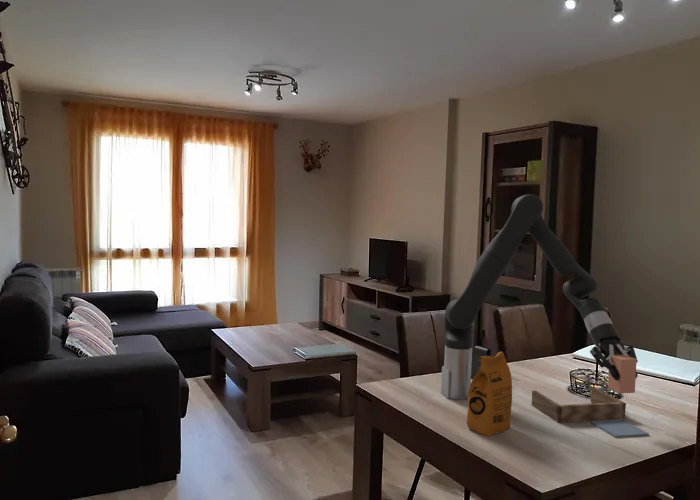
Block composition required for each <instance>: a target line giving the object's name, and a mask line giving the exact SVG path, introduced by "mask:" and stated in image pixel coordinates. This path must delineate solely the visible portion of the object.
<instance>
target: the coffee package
mask: <svg viewBox="0 0 700 500" xmlns="http://www.w3.org/2000/svg"><path fill="white" fill-rule="evenodd" d="M478 360H479V361H481V366H480V367H479V370H478V373H477V375H476V376H475V377H474V378H473V379H471V384H470V387H469V391H468V398H467V410H466V411H467V412H466V422H465V423H466V425H467V427H468V429H469V430H473V431H474V432H476V433H478V434H480V435H483V436H486V437H491V436H493V435H494V434H497V433H499V434H500V433H502V434H503V433H505V431H507V430H508V429H510V428H511V416H512V415H511V414H512V403H513V382H512V380H513V379H512V373H511V371H510V366H509V365H508V362H507V358H506V357H505V354H504V352H503V351H499V352H497V354H496V355H495V356H491V357H486V356H484V357H482V356H480V357H479V358H478Z"/></svg>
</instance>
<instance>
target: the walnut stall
mask: <svg viewBox="0 0 700 500" xmlns="http://www.w3.org/2000/svg"><path fill="white" fill-rule="evenodd" d="M531 406H532V407H533V408H534V409H537V411H539V412H541V413H542V414H544V415H545V416H547V417H548V418H550V419H552V420H553V421H554V422H556V423H558V424H560V423H563V424H564V423H575V422H576V423H577V422H578V423H579V422H590V421H595V420H612V419H623V420H625V419H626V406H627V403H626V402H624V401H622V400H620V399H618V398H617V397H614V396H612V395H610V394H608V393H606V392H604V391H602V390H600V389H597V388H596V387H591V392H590V403H574V404H573V403H572V404H559V403H557V402H555V401H554V400H552V399H551V398H549V397H548V396H545V395H544V394H542V393H541V392H539V391H537V390H535V389H534V390H531Z"/></svg>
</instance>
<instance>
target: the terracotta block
mask: <svg viewBox="0 0 700 500" xmlns="http://www.w3.org/2000/svg"><path fill="white" fill-rule="evenodd" d="M612 360H613V362H614V366H616V368H617V370H618V372H619V374H620V376H621V377H620V379H618V380H615V379H614V378H613V377H612V376H611V374H610V372H609V371H608V380H607V381H608V382H607V389H610V390H611V391H614V392H615V393H617V394H635V393H636V380H637V378H636V372H637V363H636V361H637V360H638V358H637V359H635V358H632V357H630V356H627V355H614V356H612Z"/></svg>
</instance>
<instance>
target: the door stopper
mask: <svg viewBox="0 0 700 500" xmlns="http://www.w3.org/2000/svg"><path fill="white" fill-rule="evenodd" d="M473 348H474V349H473V356H472V362H471V380H473V378H474V377H475V376H476V375H477V373H478V370H479V367H480V366H481V361H479V360H478V358H479V357H480V356H482V357H484V356H486V357H492V349H491V348H488V347H485V346H480V345H475V346H474V347H473Z"/></svg>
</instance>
